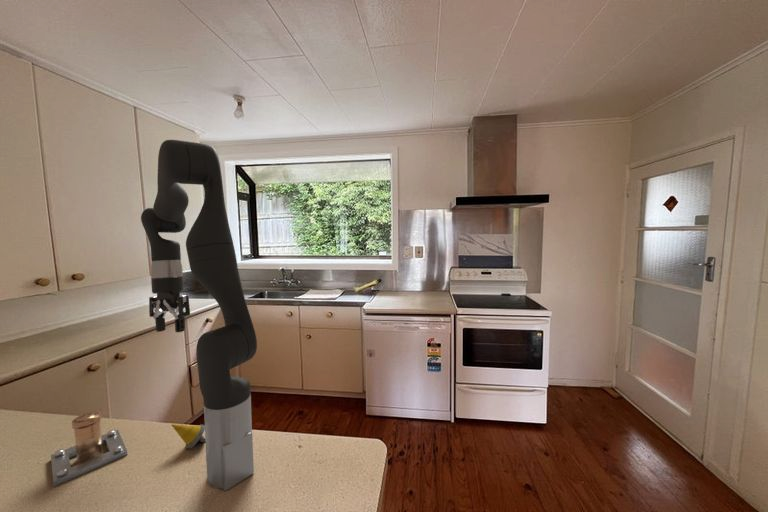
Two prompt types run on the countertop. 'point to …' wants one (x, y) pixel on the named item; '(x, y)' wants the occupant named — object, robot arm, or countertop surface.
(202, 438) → the drill bit
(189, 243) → the robot arm
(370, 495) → the countertop surface
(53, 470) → the flange
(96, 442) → the pipe stub
